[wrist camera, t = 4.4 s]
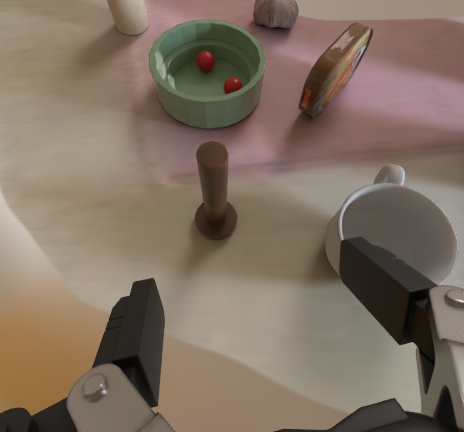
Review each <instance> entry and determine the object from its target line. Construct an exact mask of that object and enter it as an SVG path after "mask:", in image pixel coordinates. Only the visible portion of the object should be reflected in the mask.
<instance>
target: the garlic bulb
mask: <svg viewBox="0 0 464 432" xmlns="http://www.w3.org/2000/svg"><path fill="white" fill-rule="evenodd" d="M297 16H298V5H297V3H296V1H295V0H256V2H255V5H254V13H253V17H254V20H255V22H256V23H257V24H259V25H262V24H265V25H266V26H267V27H270V28H273V27H276V26H277V27H283V28H290V27H291V26H292V25H293V24H294V23H295V21H296V18H297Z"/></svg>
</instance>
